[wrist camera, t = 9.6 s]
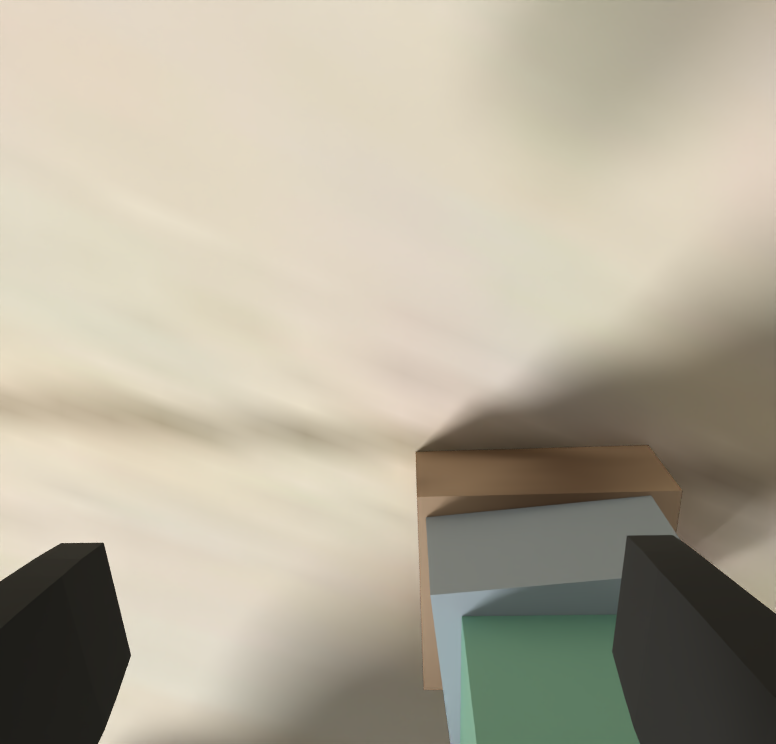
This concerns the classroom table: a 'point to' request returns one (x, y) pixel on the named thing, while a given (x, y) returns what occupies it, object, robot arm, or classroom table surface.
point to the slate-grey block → (528, 568)
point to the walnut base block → (527, 495)
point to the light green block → (541, 681)
